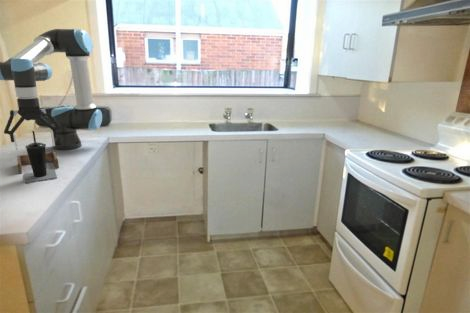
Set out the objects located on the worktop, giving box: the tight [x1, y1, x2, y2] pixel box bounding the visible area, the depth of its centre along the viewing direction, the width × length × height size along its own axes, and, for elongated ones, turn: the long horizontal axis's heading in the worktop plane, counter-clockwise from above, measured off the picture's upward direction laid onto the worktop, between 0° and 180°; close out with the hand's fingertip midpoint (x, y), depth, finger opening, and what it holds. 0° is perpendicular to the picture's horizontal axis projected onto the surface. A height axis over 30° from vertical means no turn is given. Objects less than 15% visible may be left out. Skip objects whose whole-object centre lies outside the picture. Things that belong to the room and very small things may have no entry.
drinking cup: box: [24, 130, 48, 177], centre depth 141 cm, size 8×8×20 cm
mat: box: [23, 168, 58, 184], centre depth 144 cm, size 12×12×1 cm
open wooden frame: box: [16, 151, 60, 175], centre depth 156 cm, size 16×15×4 cm
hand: (36, 147), depth 140 cm, fingers open, 13 cm apart
